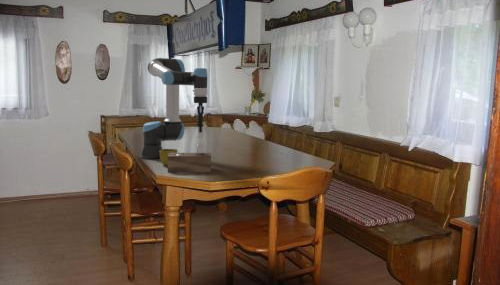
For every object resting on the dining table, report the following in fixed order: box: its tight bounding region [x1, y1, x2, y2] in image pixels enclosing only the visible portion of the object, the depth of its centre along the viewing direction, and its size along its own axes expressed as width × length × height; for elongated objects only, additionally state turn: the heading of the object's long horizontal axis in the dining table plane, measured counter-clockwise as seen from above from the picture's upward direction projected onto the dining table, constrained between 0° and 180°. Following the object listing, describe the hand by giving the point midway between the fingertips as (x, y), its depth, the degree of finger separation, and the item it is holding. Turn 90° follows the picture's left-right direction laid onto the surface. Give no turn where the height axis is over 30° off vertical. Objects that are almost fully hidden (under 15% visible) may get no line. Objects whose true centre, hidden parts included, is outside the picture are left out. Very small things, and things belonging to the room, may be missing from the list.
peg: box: [196, 143, 205, 155], centre depth 238 cm, size 4×4×9 cm
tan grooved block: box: [167, 152, 212, 173], centre depth 238 cm, size 12×24×9 cm, turn 97°
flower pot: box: [159, 148, 178, 166], centre depth 252 cm, size 9×9×9 cm
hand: (200, 137), depth 237 cm, fingers closed
